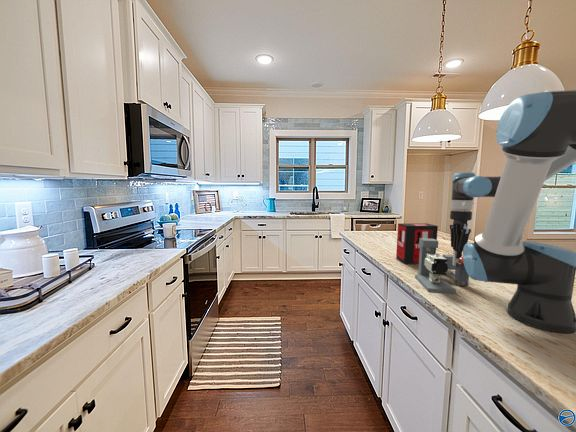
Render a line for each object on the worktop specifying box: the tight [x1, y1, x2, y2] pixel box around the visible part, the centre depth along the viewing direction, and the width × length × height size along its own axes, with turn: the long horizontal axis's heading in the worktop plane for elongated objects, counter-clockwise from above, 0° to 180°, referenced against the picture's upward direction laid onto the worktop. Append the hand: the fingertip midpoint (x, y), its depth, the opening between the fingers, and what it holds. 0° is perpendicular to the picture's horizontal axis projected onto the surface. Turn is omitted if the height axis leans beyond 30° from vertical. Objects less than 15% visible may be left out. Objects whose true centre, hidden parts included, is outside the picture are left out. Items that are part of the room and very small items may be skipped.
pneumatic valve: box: [424, 252, 449, 284], centre depth 104 cm, size 6×12×12 cm, turn 170°
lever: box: [446, 256, 470, 287], centre depth 112 cm, size 20×4×11 cm, turn 171°
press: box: [414, 238, 457, 294], centre depth 107 cm, size 24×18×17 cm
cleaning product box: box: [395, 222, 439, 265], centre depth 136 cm, size 16×9×20 cm, turn 94°
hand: (456, 265), depth 109 cm, fingers closed
